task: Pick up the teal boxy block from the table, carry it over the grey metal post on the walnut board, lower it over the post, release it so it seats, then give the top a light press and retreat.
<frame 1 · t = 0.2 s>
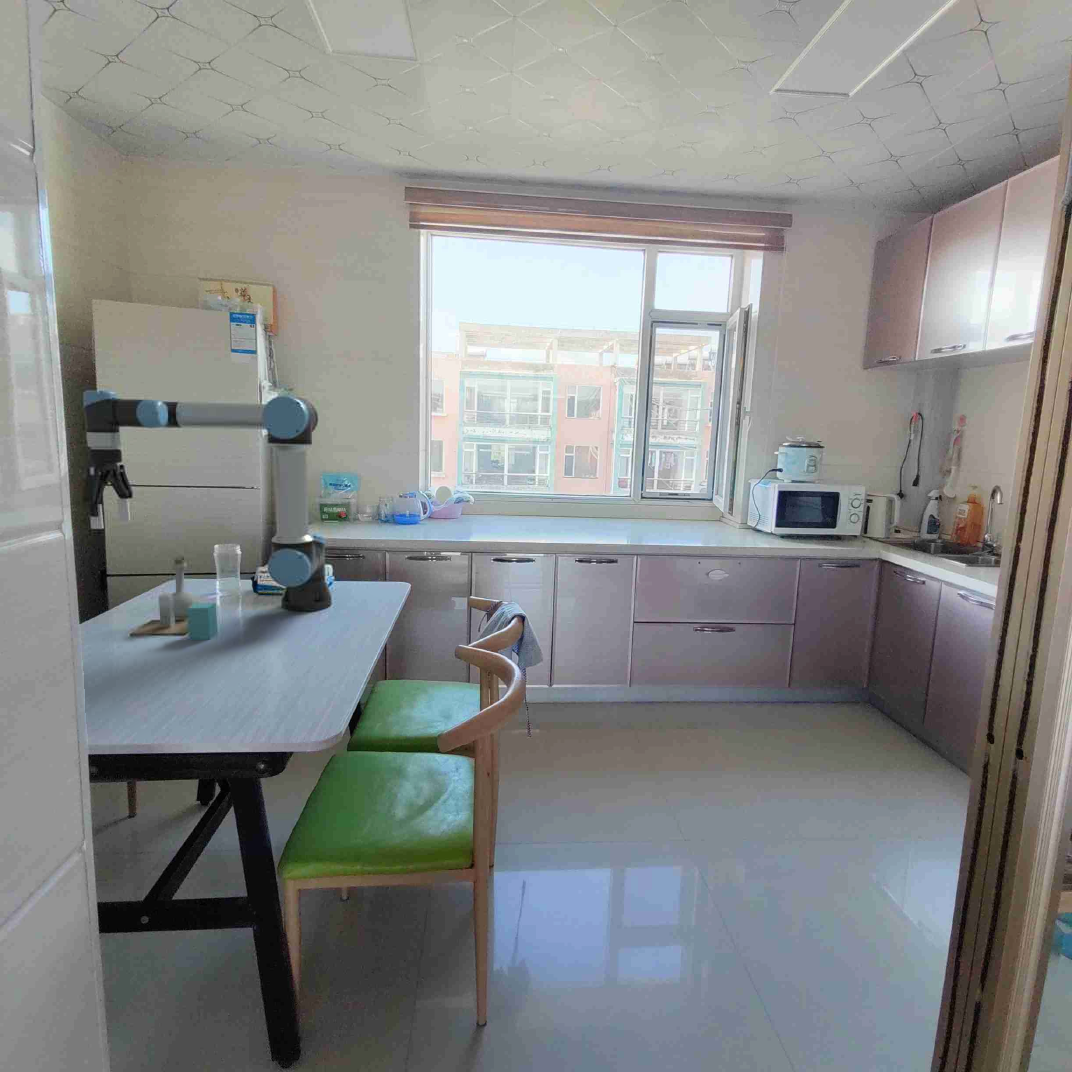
hand: (111, 524, 172), 28 cm above the table, fingers open, 13 cm apart
board: (168, 628, 171), on the table
potion bottle: (181, 618, 179), on the table, touching board
post: (166, 610, 170), on the board, point 5 cm above the table
teal boxy block: (203, 636, 165), on the table
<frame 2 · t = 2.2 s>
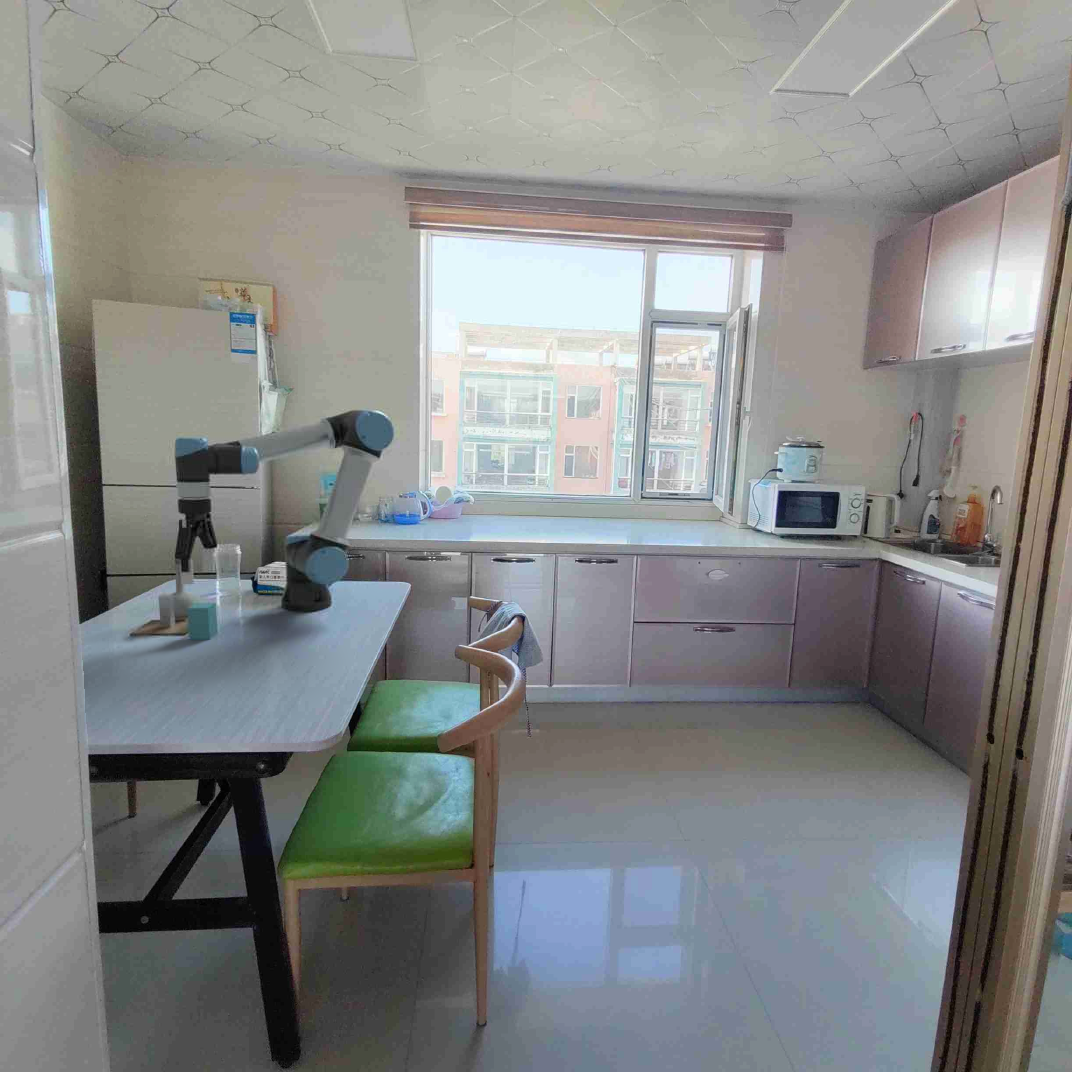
hand: (198, 577, 162), 16 cm above the table, fingers open, 13 cm apart
nothing on the table moved.
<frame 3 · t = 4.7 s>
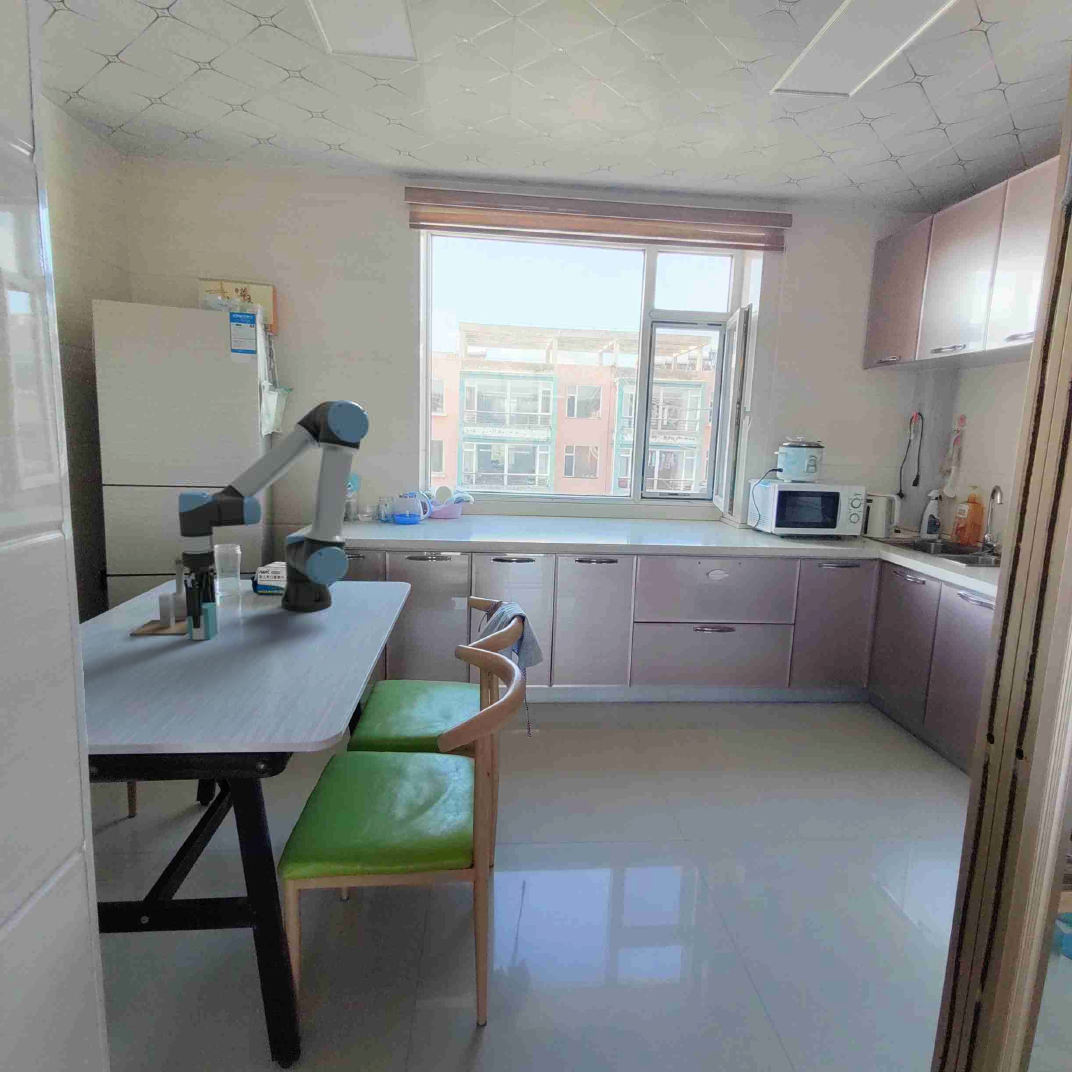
hand: (203, 635, 165), 0 cm above the table, fingers closed on teal boxy block, 5 cm apart
teal boxy block: (203, 636, 165), on the table, touching gripper
everything else where it was.
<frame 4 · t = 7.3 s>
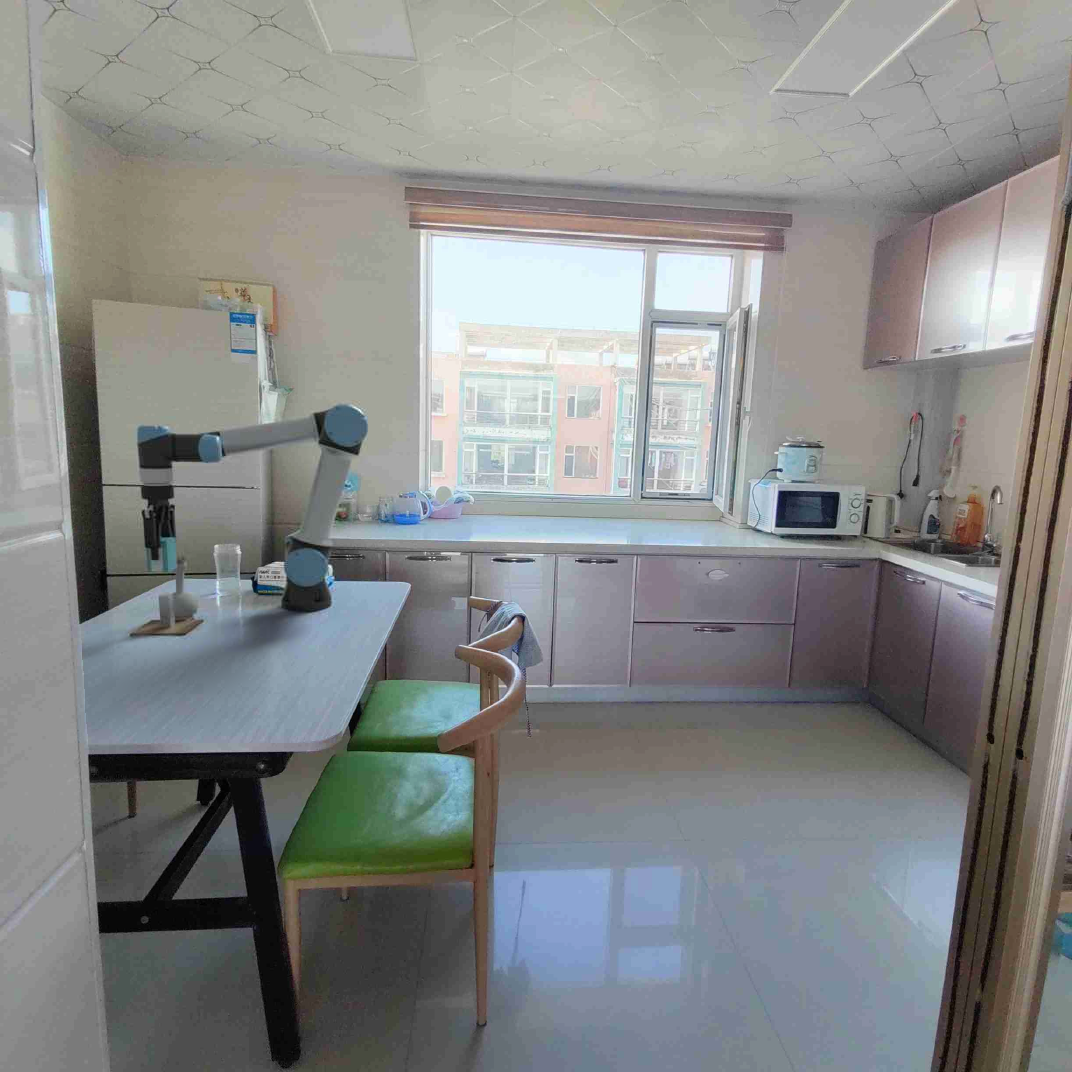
hand: (162, 568, 168), 17 cm above the table, fingers closed on teal boxy block, 5 cm apart
teal boxy block: (162, 569, 168), point 17 cm above the table, touching gripper
everything else where it was.
when the fingers open (3 cm above the table, at t = 10.4 s): teal boxy block drops 1 cm, resting on post.
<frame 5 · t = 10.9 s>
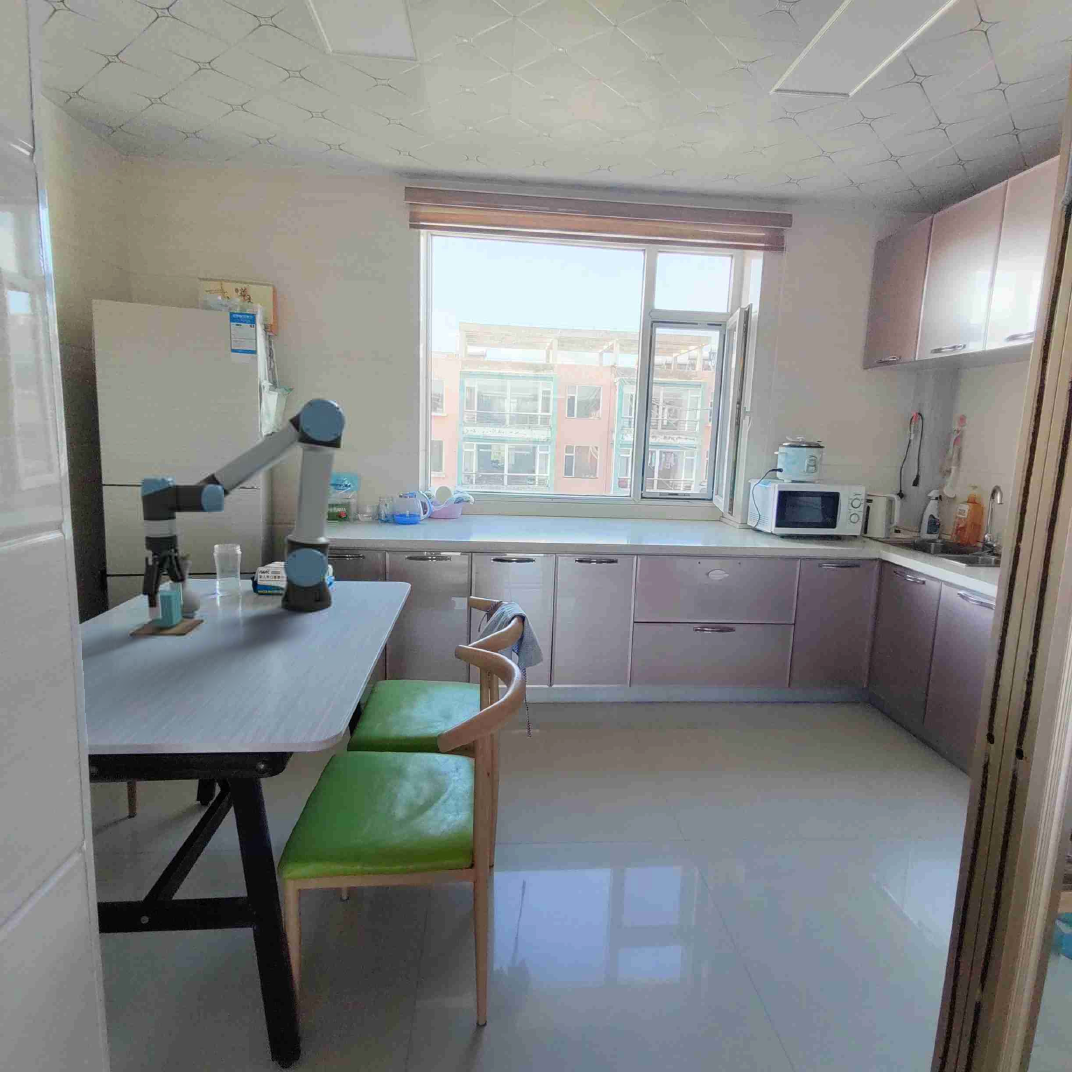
hand: (166, 611, 170), 5 cm above the table, fingers open, 12 cm apart
potion bottle: (182, 615, 180), point 1 cm above the table, touching gripper
teal boxy block: (167, 622, 170), point 2 cm above the table, touching post
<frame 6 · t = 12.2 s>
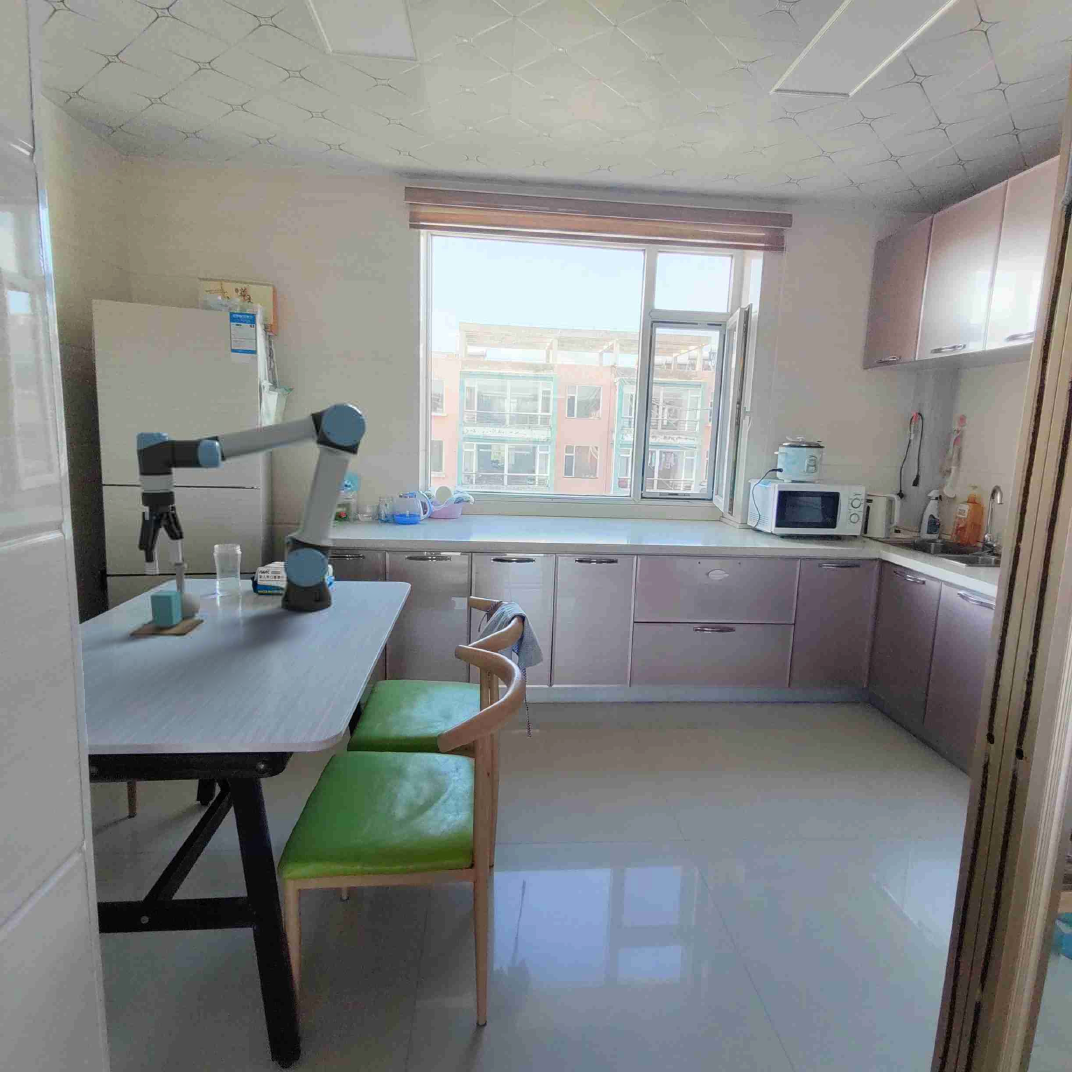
hand: (164, 568, 168), 17 cm above the table, fingers open, 13 cm apart
potion bottle: (183, 618, 180), on the table
everything else where it was.
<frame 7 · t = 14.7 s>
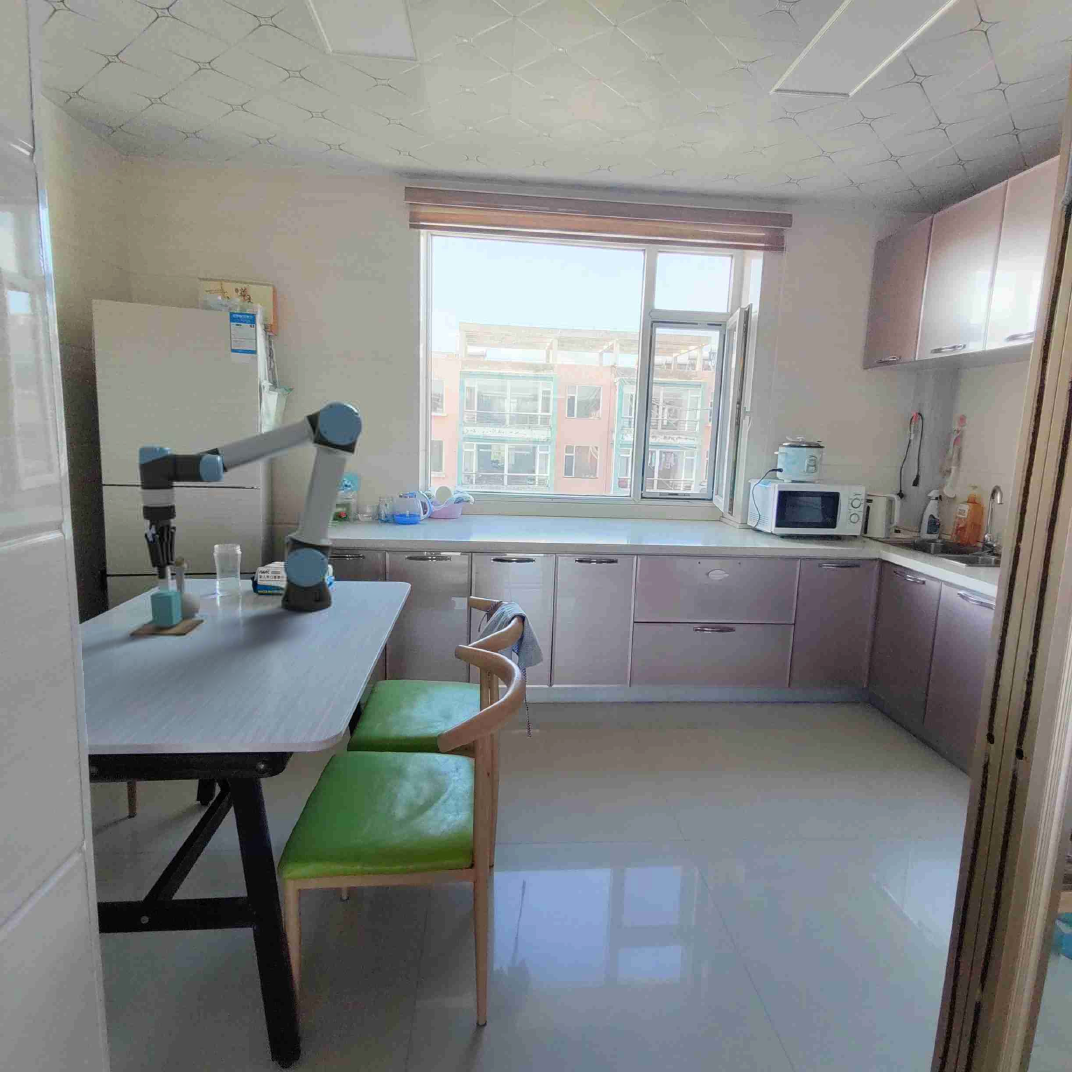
hand: (165, 589, 169), 11 cm above the table, fingers closed
nothing on the table moved.
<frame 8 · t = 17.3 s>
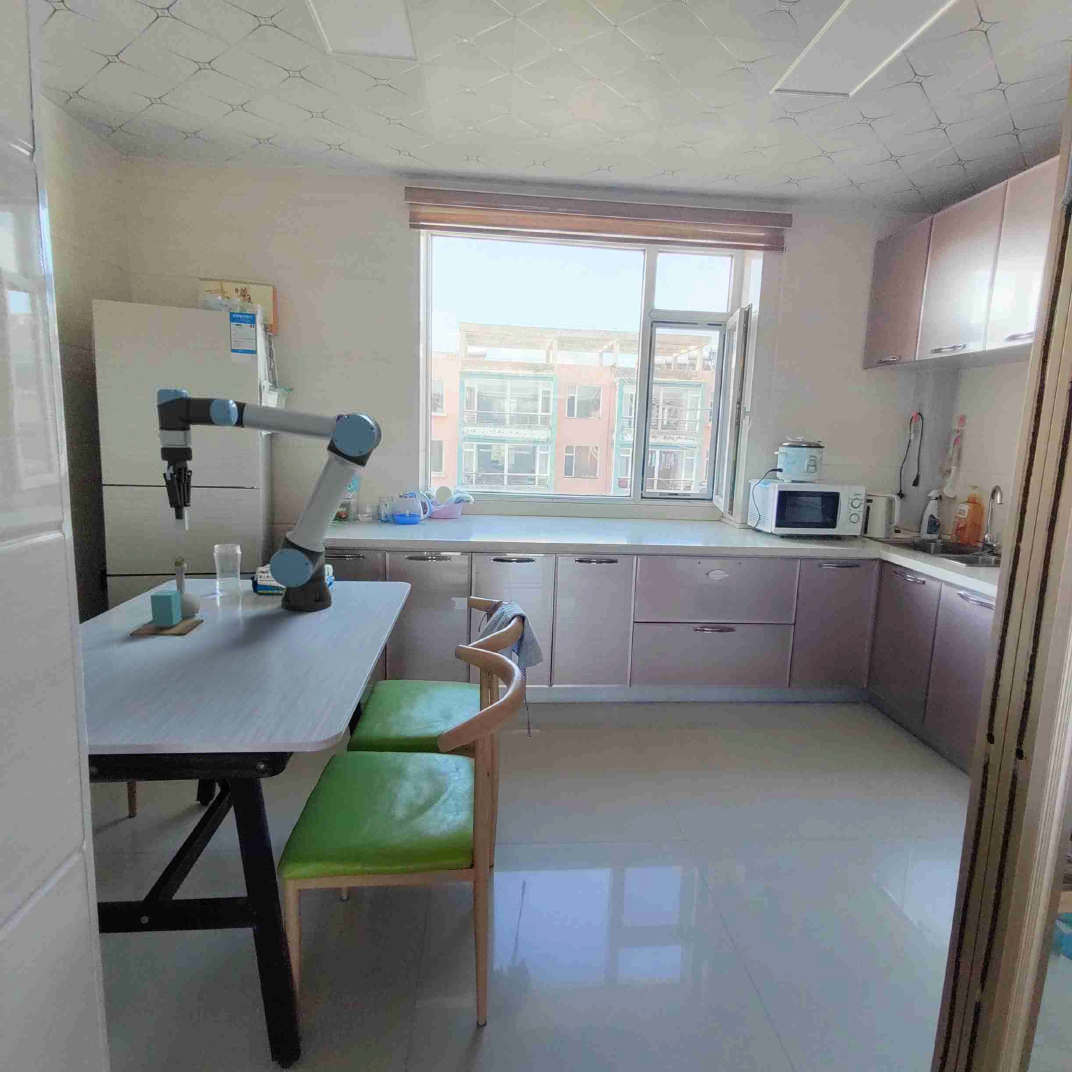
hand: (182, 530, 174), 26 cm above the table, fingers closed
nothing on the table moved.
at the end: teal boxy block 0.1 cm from the post (horizontally); teal boxy block point 1.6 cm above the table; the gripper is holding nothing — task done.
